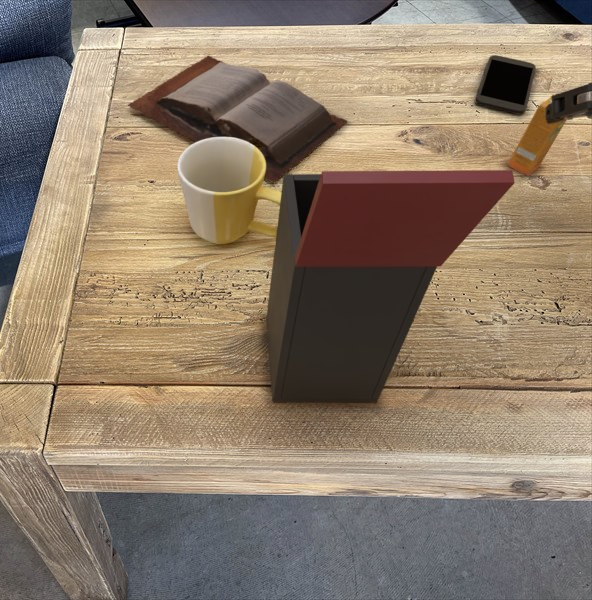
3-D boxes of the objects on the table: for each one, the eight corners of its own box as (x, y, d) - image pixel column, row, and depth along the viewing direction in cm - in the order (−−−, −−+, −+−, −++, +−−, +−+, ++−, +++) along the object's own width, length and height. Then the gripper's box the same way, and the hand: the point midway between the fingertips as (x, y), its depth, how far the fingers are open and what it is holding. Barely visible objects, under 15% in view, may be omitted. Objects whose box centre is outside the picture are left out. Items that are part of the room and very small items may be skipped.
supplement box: (529, 178, 82) (563, 114, 74) (506, 166, 83) (536, 102, 75) (542, 167, 83) (576, 103, 75) (519, 155, 85) (550, 92, 77)
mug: (164, 232, 77) (158, 166, 69) (215, 191, 81) (216, 125, 73) (248, 285, 71) (253, 220, 63) (298, 237, 76) (309, 172, 67)
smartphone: (535, 67, 98) (538, 62, 98) (524, 116, 90) (526, 111, 89) (488, 58, 101) (490, 52, 100) (472, 105, 92) (474, 100, 92)
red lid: (321, 170, 34) (322, 184, 34) (512, 169, 34) (515, 182, 33) (294, 256, 45) (295, 266, 44) (439, 256, 44) (440, 266, 44)
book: (273, 188, 82) (277, 161, 78) (126, 109, 93) (124, 82, 90) (348, 128, 92) (355, 101, 89) (208, 63, 103) (209, 37, 100)
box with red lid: (266, 319, 68) (283, 173, 52) (360, 319, 67) (408, 173, 51) (272, 402, 61) (294, 266, 45) (377, 403, 61) (438, 265, 45)
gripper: (787, 29, 54) (645, 75, 70) (632, 37, 53) (525, 82, 69) (783, 115, 55) (643, 141, 71) (630, 124, 54) (524, 148, 70)
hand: (584, 112), depth 70 cm, fingers open, 8 cm apart
